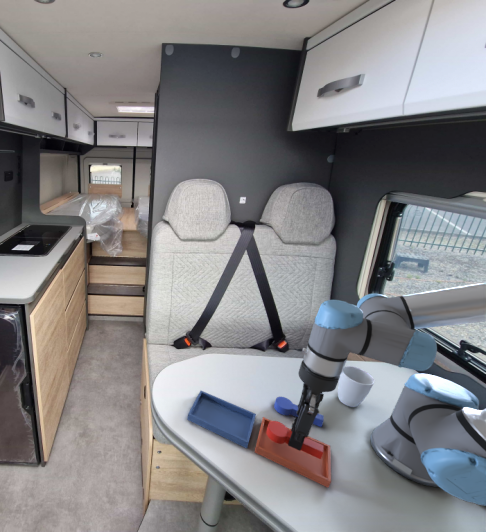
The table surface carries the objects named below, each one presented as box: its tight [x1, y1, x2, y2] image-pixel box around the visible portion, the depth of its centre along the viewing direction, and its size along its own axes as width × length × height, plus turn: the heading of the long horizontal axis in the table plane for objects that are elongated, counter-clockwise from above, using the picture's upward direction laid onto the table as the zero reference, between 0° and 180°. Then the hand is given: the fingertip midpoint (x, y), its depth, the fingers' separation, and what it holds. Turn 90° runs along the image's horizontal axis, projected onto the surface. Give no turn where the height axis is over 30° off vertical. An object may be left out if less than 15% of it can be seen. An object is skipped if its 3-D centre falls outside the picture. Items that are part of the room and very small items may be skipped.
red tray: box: [254, 416, 332, 489], centre depth 78 cm, size 16×11×2 cm, turn 59°
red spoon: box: [266, 420, 323, 459], centre depth 77 cm, size 12×5×2 cm, turn 59°
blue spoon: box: [273, 396, 325, 428], centre depth 89 cm, size 12×5×2 cm, turn 59°
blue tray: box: [186, 390, 257, 449], centre depth 86 cm, size 16×11×2 cm, turn 59°
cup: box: [337, 365, 376, 408], centre depth 93 cm, size 8×8×10 cm
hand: (294, 442), depth 77 cm, fingers closed on red spoon, 2 cm apart
